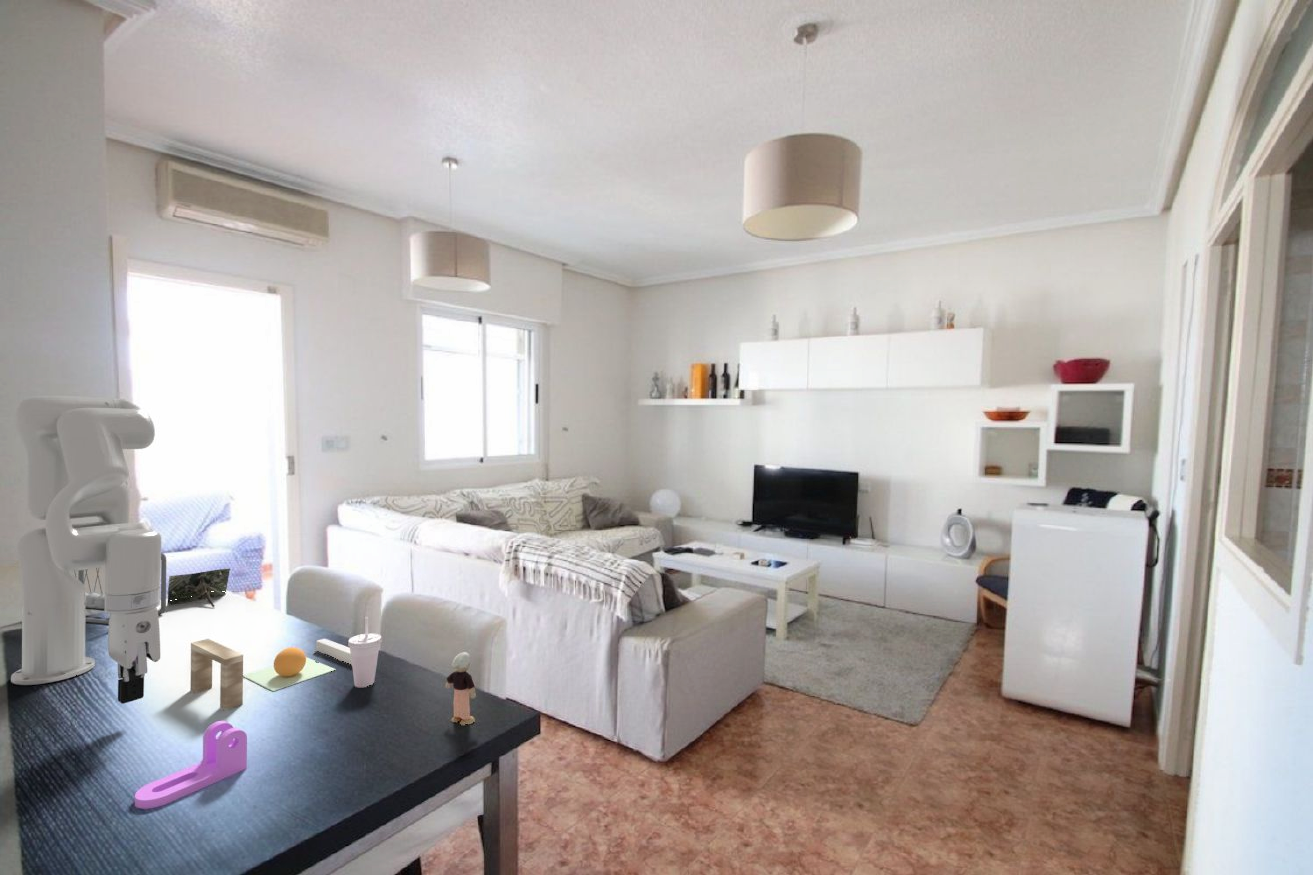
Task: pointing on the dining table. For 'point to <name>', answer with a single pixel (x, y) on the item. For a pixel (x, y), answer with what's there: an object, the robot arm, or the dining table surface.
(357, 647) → the smoothie
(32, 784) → the dining table surface
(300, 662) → the ball
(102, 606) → the newton's cradle
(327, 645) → the wall
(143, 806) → the bracket
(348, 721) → the dining table surface
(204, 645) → the bridge
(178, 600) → the dark piece
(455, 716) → the grandmother figurine
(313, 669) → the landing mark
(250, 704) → the dining table surface
